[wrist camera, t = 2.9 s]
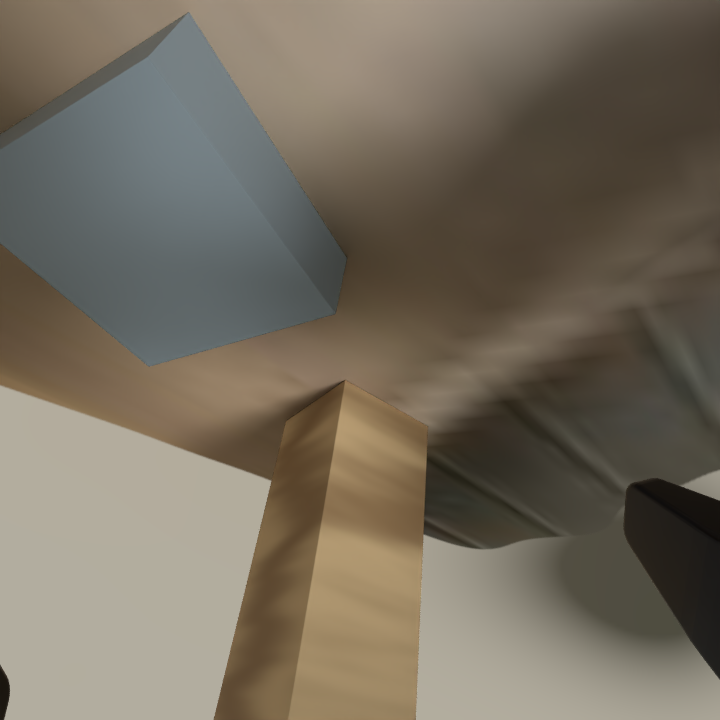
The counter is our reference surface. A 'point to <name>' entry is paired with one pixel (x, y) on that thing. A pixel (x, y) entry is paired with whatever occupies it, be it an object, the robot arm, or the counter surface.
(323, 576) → the oak pillar
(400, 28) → the counter surface
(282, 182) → the slate base block
